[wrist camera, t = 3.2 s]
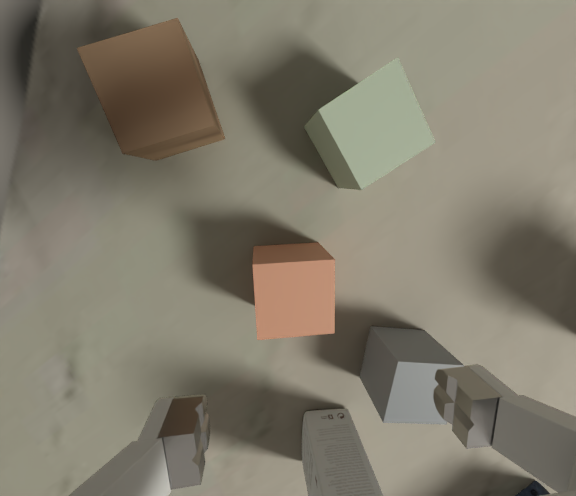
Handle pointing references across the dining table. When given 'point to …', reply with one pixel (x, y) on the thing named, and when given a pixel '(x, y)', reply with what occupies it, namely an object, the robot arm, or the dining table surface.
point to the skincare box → (335, 456)
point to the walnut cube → (153, 91)
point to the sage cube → (370, 128)
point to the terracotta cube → (293, 290)
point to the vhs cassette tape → (533, 490)
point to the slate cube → (404, 374)
